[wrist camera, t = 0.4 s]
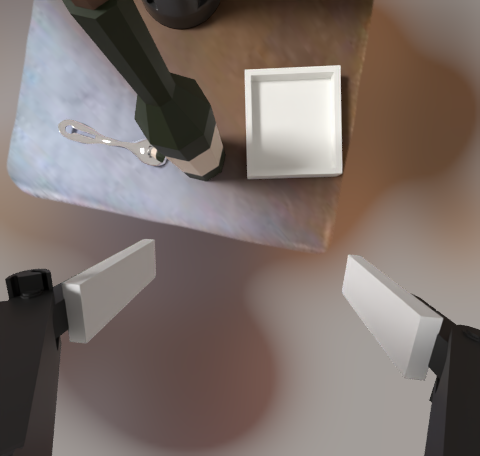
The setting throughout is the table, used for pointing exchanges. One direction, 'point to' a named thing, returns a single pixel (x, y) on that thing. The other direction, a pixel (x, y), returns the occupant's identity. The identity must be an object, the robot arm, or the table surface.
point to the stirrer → (115, 143)
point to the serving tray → (293, 122)
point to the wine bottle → (155, 87)
